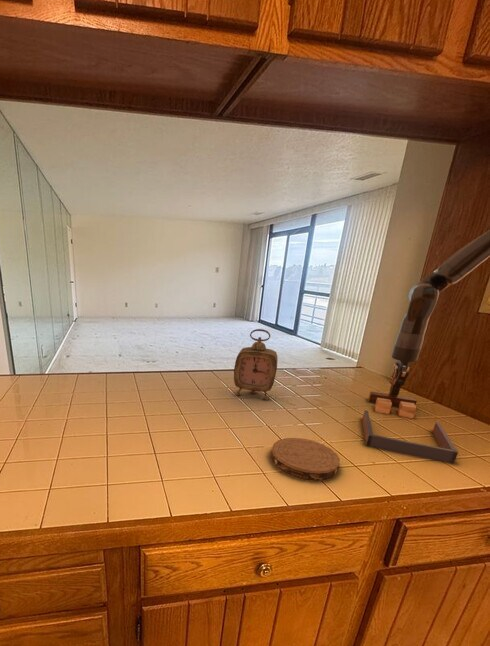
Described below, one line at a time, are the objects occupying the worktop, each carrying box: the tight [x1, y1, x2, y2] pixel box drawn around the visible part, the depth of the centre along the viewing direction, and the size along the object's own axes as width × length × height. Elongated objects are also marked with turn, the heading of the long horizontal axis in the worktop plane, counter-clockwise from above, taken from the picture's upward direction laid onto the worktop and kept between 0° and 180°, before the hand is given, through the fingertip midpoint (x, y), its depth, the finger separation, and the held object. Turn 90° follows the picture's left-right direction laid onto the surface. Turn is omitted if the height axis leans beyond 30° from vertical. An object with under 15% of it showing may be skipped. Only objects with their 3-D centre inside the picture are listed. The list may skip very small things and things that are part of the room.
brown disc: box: [270, 437, 340, 483], centre depth 87 cm, size 16×16×3 cm
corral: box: [361, 410, 459, 464], centre depth 100 cm, size 19×20×4 cm
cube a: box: [374, 398, 393, 415], centre depth 118 cm, size 4×4×4 cm
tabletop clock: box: [233, 328, 279, 401], centre depth 126 cm, size 14×9×25 cm, turn 70°
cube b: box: [397, 401, 417, 419], centre depth 116 cm, size 4×4×4 cm
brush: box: [367, 379, 418, 408], centre depth 123 cm, size 14×3×10 cm, turn 65°
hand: (393, 393), depth 123 cm, fingers closed on brush, 2 cm apart
